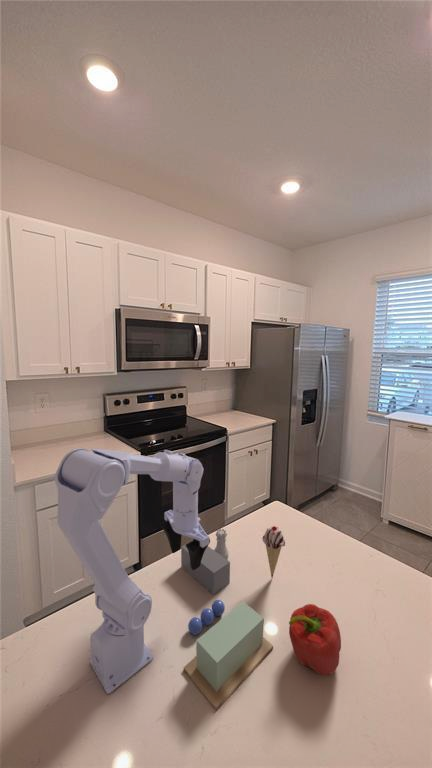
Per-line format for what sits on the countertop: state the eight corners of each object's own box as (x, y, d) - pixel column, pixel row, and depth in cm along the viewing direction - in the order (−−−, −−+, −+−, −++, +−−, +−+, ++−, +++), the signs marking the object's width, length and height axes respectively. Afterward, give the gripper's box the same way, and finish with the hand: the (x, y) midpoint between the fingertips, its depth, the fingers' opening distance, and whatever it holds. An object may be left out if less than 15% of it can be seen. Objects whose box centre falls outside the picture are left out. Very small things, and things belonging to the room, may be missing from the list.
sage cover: (216, 691, 56) (217, 662, 55) (196, 667, 60) (196, 640, 59) (262, 643, 65) (263, 618, 64) (242, 625, 69) (242, 601, 68)
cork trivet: (216, 710, 54) (216, 707, 54) (183, 669, 60) (183, 667, 60) (273, 648, 65) (273, 645, 65) (240, 619, 71) (240, 617, 71)
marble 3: (217, 621, 71) (218, 609, 70) (208, 613, 73) (209, 601, 72) (227, 613, 73) (227, 602, 72) (218, 605, 75) (218, 594, 74)
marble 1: (194, 641, 66) (194, 629, 66) (185, 631, 68) (185, 619, 68) (205, 632, 68) (205, 620, 68) (196, 623, 70) (196, 611, 70)
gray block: (229, 583, 82) (230, 562, 81) (213, 595, 78) (213, 573, 77) (196, 557, 91) (197, 538, 90) (181, 566, 87) (181, 546, 86)
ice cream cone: (284, 587, 80) (287, 533, 78) (262, 587, 81) (264, 532, 78) (280, 571, 86) (283, 520, 84) (259, 570, 86) (261, 519, 84)
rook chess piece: (222, 564, 88) (223, 538, 87) (210, 557, 91) (210, 532, 90) (231, 555, 92) (232, 530, 91) (219, 549, 94) (219, 524, 93)
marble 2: (206, 631, 68) (206, 619, 68) (197, 622, 71) (197, 610, 70) (216, 622, 70) (216, 610, 70) (207, 614, 73) (207, 602, 72)
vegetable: (298, 692, 57) (301, 644, 55) (276, 639, 67) (278, 597, 65) (352, 680, 59) (357, 634, 57) (323, 630, 69) (326, 589, 68)
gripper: (219, 512, 71) (218, 566, 74) (180, 489, 82) (180, 537, 84) (195, 525, 67) (195, 582, 69) (157, 498, 77) (157, 549, 79)
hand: (185, 558), depth 76 cm, fingers open, 7 cm apart
